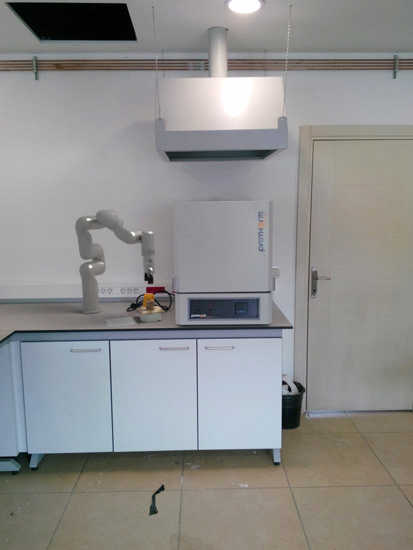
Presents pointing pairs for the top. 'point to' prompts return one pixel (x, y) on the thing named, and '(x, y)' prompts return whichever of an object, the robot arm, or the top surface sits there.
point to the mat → (120, 322)
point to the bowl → (150, 317)
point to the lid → (149, 309)
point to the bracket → (147, 298)
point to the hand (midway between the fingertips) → (148, 282)
